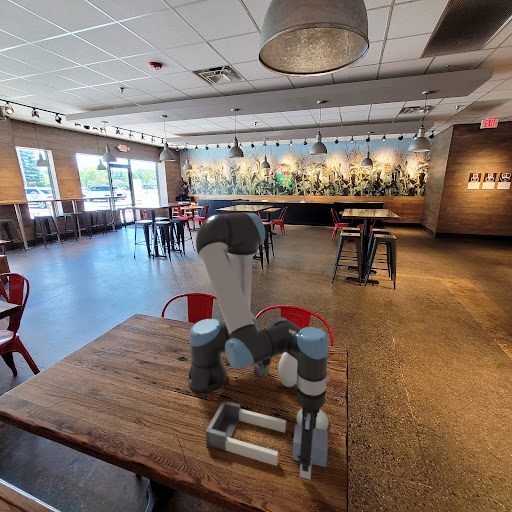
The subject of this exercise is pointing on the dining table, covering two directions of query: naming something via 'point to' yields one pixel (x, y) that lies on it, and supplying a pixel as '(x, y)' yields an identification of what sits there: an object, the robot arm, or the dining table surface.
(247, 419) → the channel
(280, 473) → the dining table surface
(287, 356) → the sauce bottle
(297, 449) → the painted block
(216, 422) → the bin
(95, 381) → the dining table surface
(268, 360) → the beverage can
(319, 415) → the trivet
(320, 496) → the dining table surface
